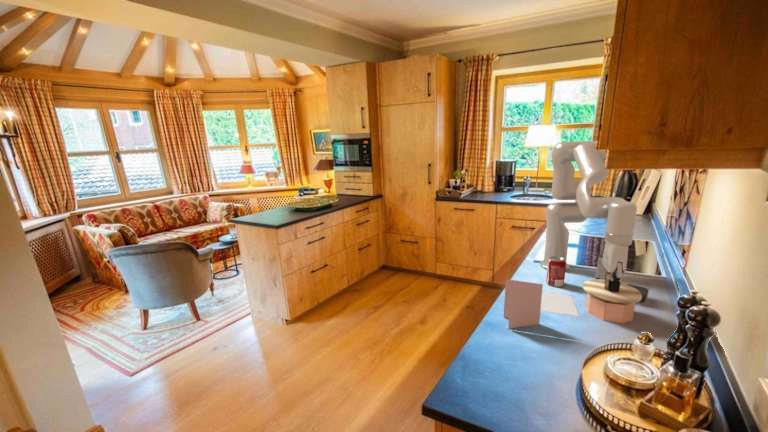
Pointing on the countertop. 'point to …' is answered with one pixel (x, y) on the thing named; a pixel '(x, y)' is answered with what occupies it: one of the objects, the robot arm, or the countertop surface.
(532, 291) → the greeting card
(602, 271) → the coffee box
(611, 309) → the bowl
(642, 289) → the phone
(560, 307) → the mat
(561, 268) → the soda can
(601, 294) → the lid
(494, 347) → the countertop surface
